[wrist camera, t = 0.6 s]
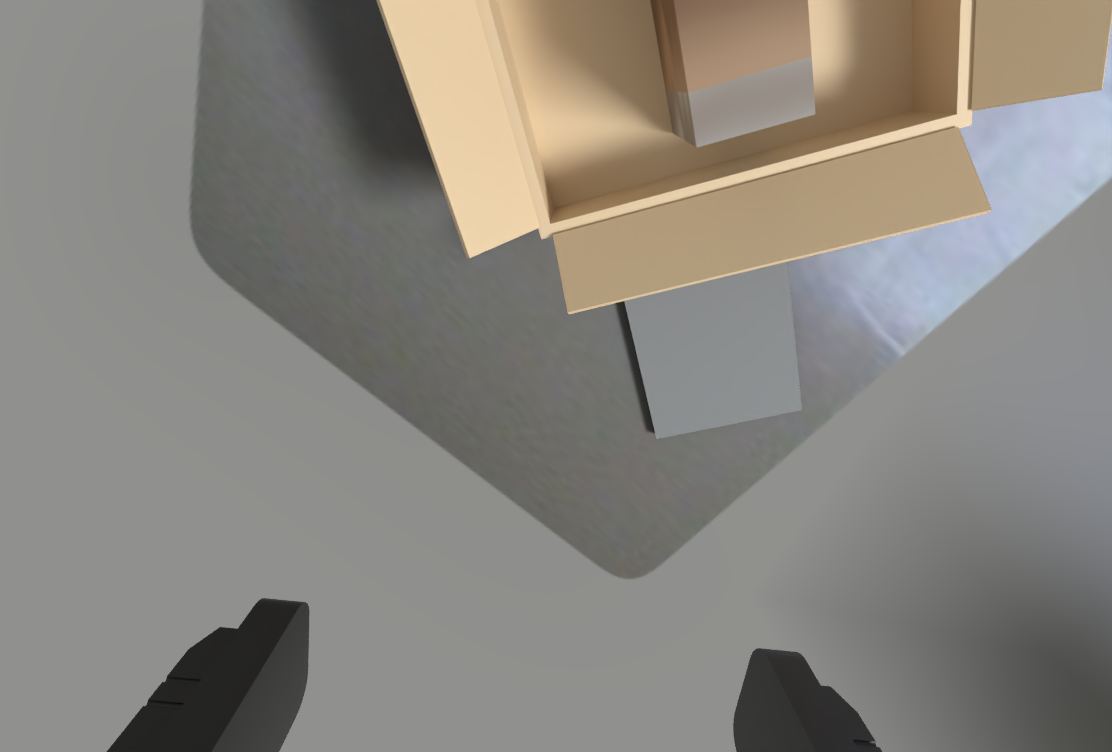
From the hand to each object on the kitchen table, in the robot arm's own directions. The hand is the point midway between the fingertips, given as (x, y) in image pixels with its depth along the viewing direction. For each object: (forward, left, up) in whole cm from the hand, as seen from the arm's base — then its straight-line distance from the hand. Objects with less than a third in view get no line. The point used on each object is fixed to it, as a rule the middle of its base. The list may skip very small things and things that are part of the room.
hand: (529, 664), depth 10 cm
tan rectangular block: (-10, +9, -25) cm, 28 cm away
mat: (+7, +7, -25) cm, 27 cm away
